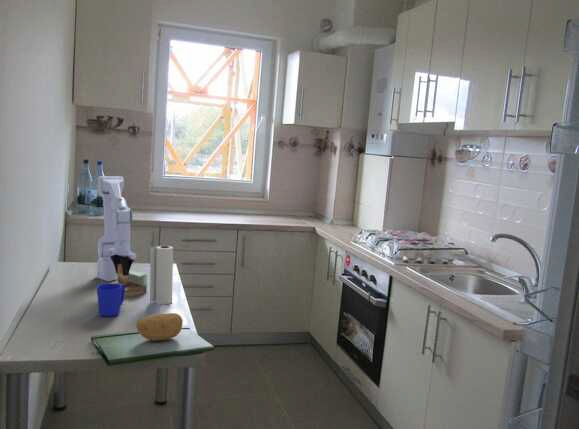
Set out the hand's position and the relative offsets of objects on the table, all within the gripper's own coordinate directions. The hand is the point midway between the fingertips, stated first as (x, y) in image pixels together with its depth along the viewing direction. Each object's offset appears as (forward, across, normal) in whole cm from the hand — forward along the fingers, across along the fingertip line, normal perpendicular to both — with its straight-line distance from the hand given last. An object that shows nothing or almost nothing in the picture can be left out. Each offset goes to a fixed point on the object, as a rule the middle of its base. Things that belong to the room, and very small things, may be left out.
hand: (122, 274), depth 213 cm
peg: (+3, 0, 0) cm, 3 cm away
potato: (+8, +48, -23) cm, 54 cm away
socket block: (+8, 0, 0) cm, 8 cm away
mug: (+8, +17, -17) cm, 25 cm away
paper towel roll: (+8, +20, +3) cm, 22 cm away
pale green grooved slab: (+8, 0, +5) cm, 9 cm away
